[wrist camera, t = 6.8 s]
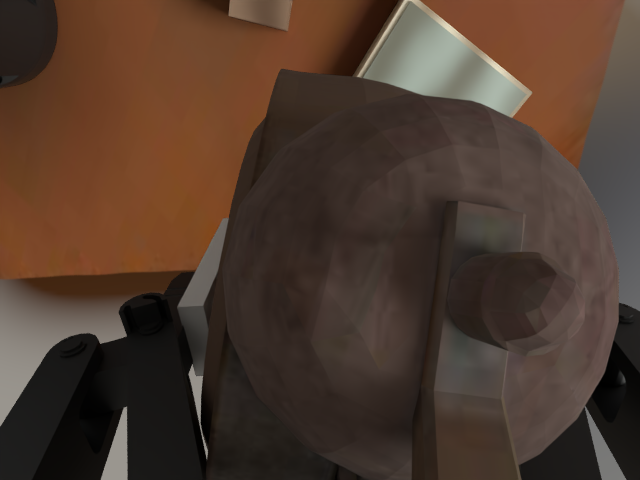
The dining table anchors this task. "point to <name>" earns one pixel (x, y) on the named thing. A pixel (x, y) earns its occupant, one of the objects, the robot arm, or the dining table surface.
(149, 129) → the dining table surface
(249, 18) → the walnut block
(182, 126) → the dining table surface
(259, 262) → the alarm clock
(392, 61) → the picture frame
